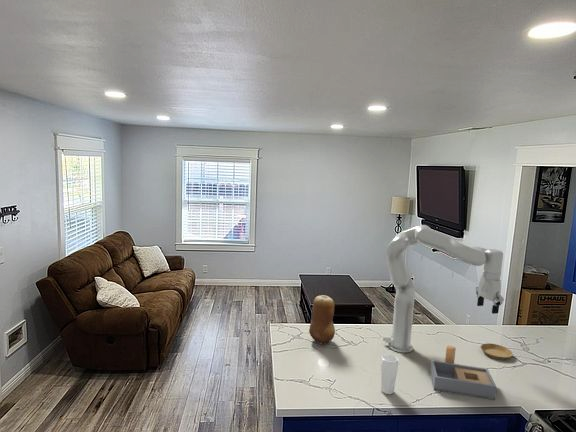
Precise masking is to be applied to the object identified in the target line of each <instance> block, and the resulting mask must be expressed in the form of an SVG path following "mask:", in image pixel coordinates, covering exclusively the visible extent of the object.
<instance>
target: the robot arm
mask: <svg viewBox="0 0 576 432" xmlns="http://www.w3.org/2000/svg"><path fill="white" fill-rule="evenodd" d="M417 244H422V245H423V246H427V247H430V248H432V249H434V250H437V251H439V252H442V253H444V254H447V255H448V256H450V257H453V258H454V259H457V260H459V261H461V262H464V263H466V264H469V265H472V266H475V267H481V266H483V270H482V275H481V276H480V279H479V283H478V286H475V293H476V298H477V303H476V306H478V307H484V302H485V299H486V300H488V301H491V302H492V303H493V305H492V308H491V314H493V315H495V314H498V313H499V309H500V306H501V305H502V304H503V302H504V301H505V298H504V297H503V296H502V295H501V292H502V282H501V281H502V280H501V276H502V275H501V274H502V269H503V268H502V267H503V260H504V253H503V251H502V250H499V249H496V248H495V249H491V248H485V247H484V248H483V247H480V246H471V247H470V246H467V245H465V244H464V243H461V242H459V241H458V240H457V239H455V238H454V237H452V236H450V235H448V234H445V233H443V232H440V231H437V230H435V229H432V228H431V227H430V226H429V225H427V224H421V225H418V226H415V227H412V228H409V229H407V230H403V231H401V232H399V233H397V234H396V235H395V236H394V237H393V239H392V240H391V241H390V242H389V243H388V244H387V246H386V248H385V252H384V253H385V259H386V264H387V268H388V269H387V270H388V273H389V277H390V282H391V283H392V285H393V286H394V289H395V296H394V303H393V307H394V308H393V317H392V333H391V335H390V337H386V336H382V341H384V342H385V343H387V344H388V348H389V349H391V350H392V351H395V352H397V353H403V354H404V353H405V354H406V353H411V352H413V350H414V346H413V345H412V344H411V340H412V339H411V338H412V328H413V315H414V305H415V297H416V292H415V288H414V283H413V279H412V276H411V271H410V270H409V269H408V268H407V267H406V265H405V260H404V257H403V254H404V252H406V251H407V250H408V249H409V248H410V247H411V246H414V245H417Z"/></svg>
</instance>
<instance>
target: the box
mask: <svg viewBox="0 0 576 432" xmlns="http://www.w3.org/2000/svg"><path fill="white" fill-rule="evenodd" d="M429 374H430V378H431V382H432V383H431V384H432V387H433V391H437V392H442V393H443V392H444V393H448V394H449V393H450V394H456V395H461V396H466V397H467V396H468V397H475V398H480V399H486V400H492V401H495V400H496V392H497V386H496V383H495V381H494V379H493V376H492V375H491V373H490V371H489V369H488V368H486V367H478V366H472V365H465V364H457V363H454V364H453V363H446V362H445V361H439V360H437V361H436V360H430V368H429Z"/></svg>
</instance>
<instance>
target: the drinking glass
mask: <svg viewBox="0 0 576 432" xmlns="http://www.w3.org/2000/svg"><path fill="white" fill-rule="evenodd" d="M398 367H399V358H398V357H397V356H395V355H393V354H388V353H387V354H383V355H382V356H381V363H380V390H381V392H382V393H383V394H385V395H392V394H393V393H394V392H395V386H396V379H397V374H398Z"/></svg>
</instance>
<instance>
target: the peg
mask: <svg viewBox="0 0 576 432" xmlns="http://www.w3.org/2000/svg"><path fill="white" fill-rule="evenodd" d="M456 349H457V348H456V347H455V346H453V345H447V346H446V349H445V359H444V362H446V363H453V364H455V358H456Z"/></svg>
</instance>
